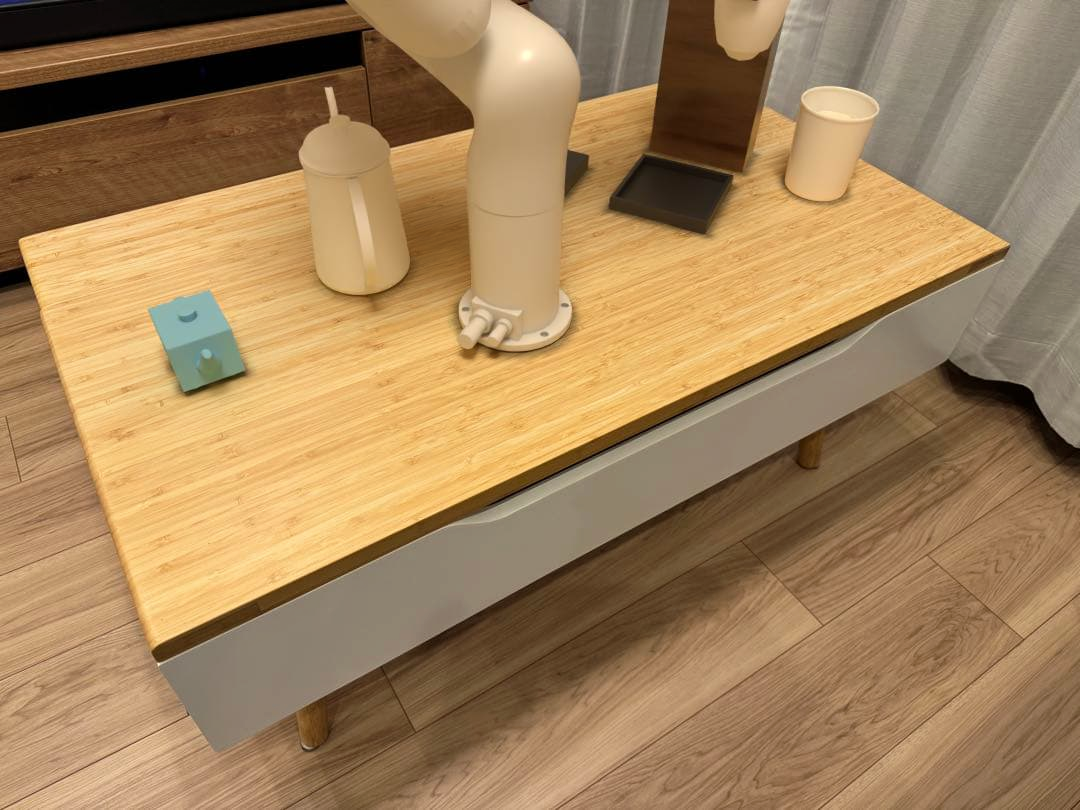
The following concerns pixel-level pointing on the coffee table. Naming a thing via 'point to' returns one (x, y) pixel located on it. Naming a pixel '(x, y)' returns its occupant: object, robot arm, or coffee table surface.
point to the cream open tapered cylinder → (828, 141)
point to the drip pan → (672, 193)
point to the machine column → (707, 91)
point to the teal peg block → (197, 339)
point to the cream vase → (747, 25)
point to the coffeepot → (353, 206)
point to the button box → (574, 169)
